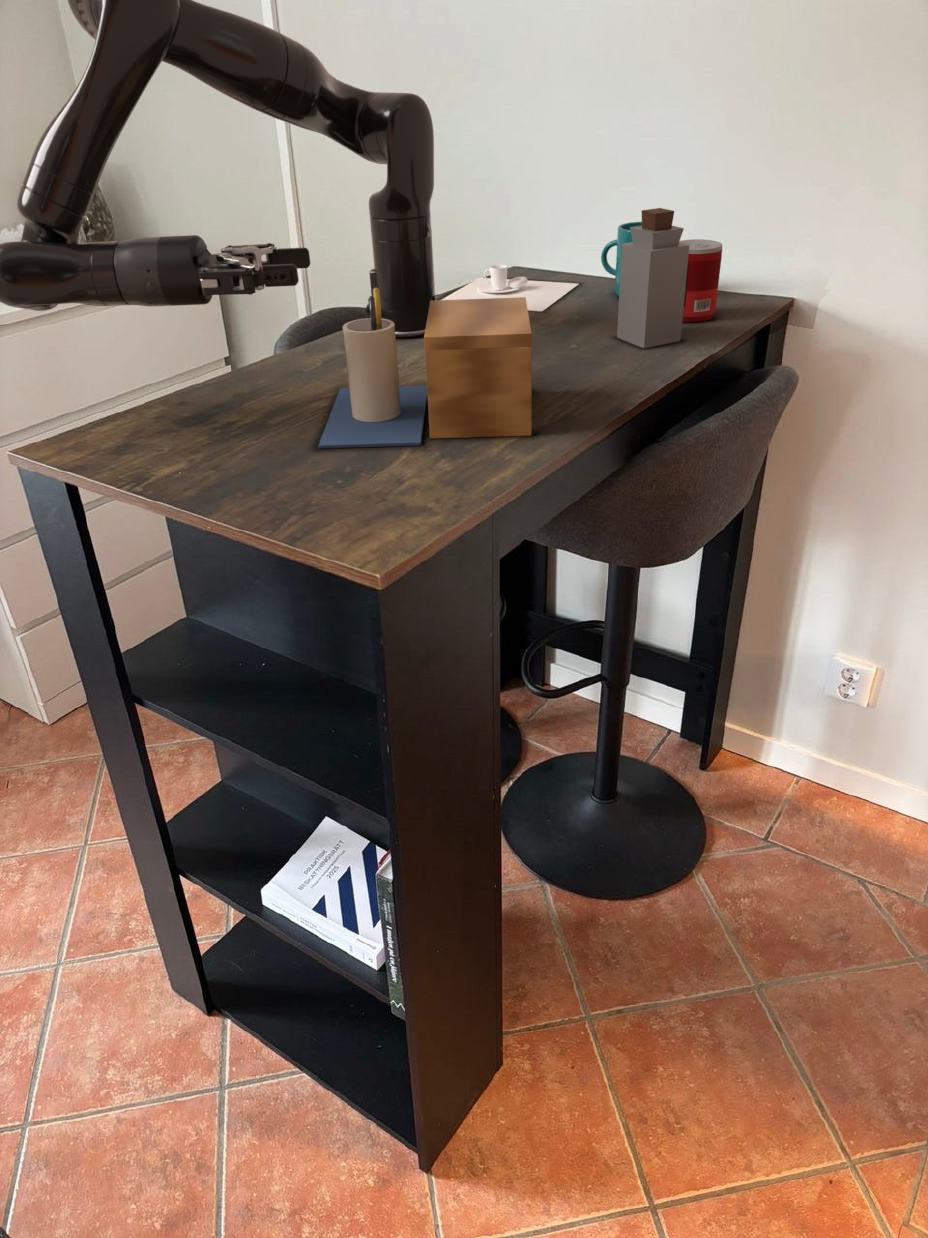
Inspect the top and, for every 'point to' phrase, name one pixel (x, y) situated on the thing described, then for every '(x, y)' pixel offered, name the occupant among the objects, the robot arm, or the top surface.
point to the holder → (372, 366)
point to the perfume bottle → (652, 281)
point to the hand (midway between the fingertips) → (303, 265)
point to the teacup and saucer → (513, 289)
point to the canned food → (701, 279)
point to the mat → (377, 423)
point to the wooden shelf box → (479, 368)
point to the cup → (618, 251)
